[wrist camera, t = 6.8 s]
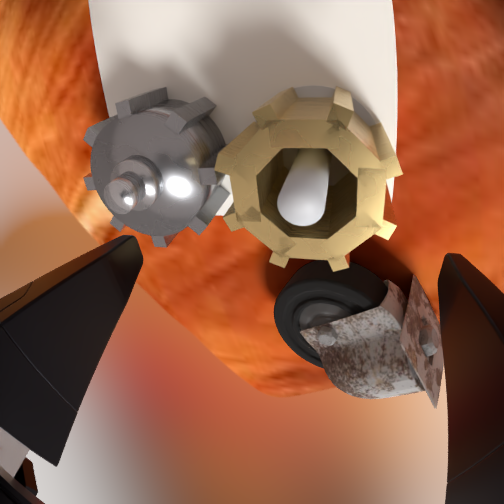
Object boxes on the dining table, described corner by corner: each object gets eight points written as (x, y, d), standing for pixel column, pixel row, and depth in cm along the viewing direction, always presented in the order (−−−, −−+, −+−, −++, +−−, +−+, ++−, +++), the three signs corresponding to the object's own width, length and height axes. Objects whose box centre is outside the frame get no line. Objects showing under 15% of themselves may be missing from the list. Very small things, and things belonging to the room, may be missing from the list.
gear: (229, 76, 14) (176, 94, 10) (248, 216, 19) (215, 277, 14) (105, 101, 16) (39, 130, 12) (136, 214, 21) (88, 263, 17)
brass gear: (386, 88, 12) (406, 106, 8) (381, 214, 16) (388, 275, 12) (244, 89, 14) (203, 109, 10) (259, 209, 18) (231, 264, 14)
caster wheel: (280, 266, 26) (388, 212, 19) (350, 363, 27) (452, 337, 20) (234, 319, 21) (367, 269, 14) (323, 422, 22) (443, 409, 15)
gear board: (379, -50, 9) (401, -110, 3) (386, 210, 17) (400, 301, 12) (103, 0, 13) (8, 7, 8) (147, 203, 22) (83, 268, 16)
